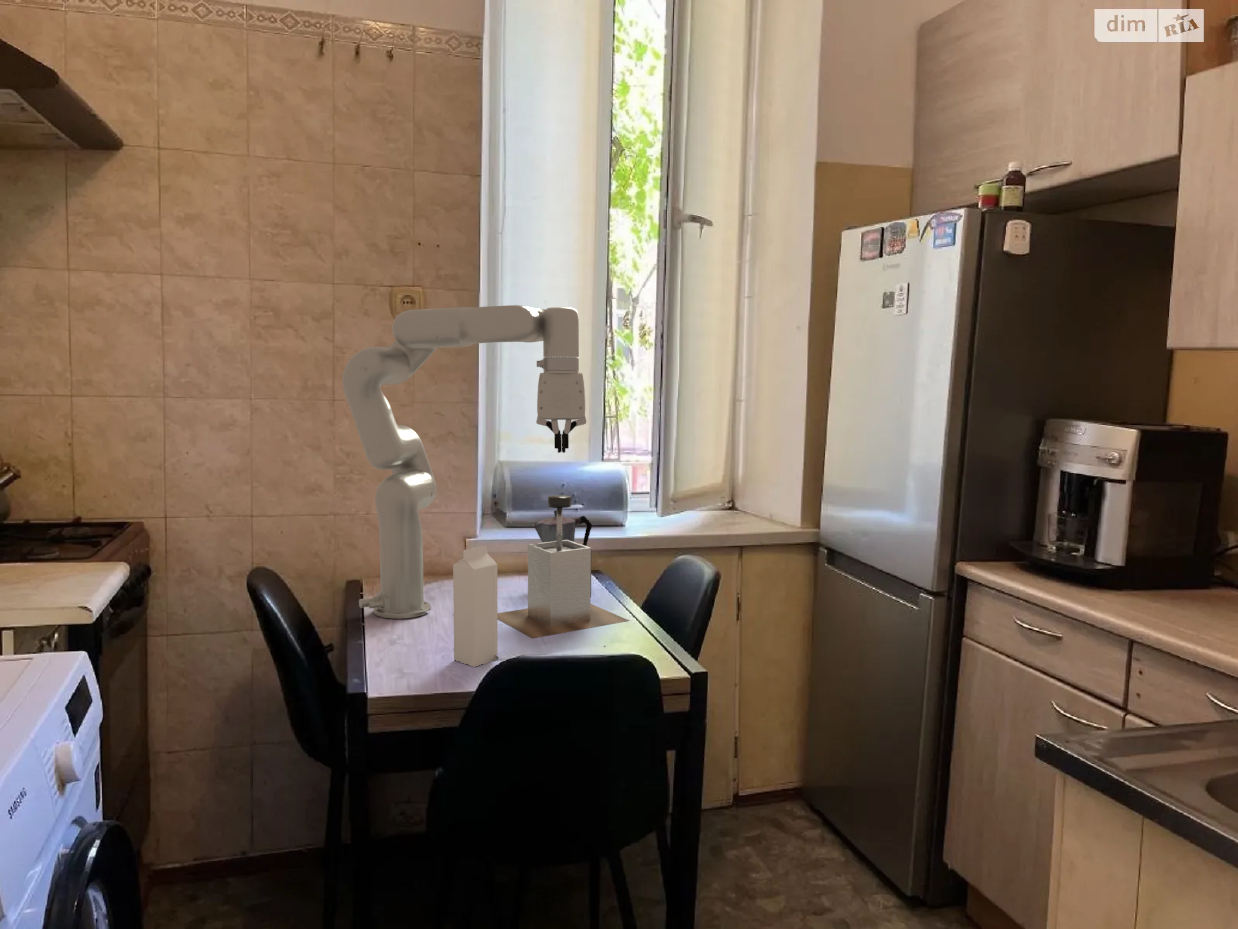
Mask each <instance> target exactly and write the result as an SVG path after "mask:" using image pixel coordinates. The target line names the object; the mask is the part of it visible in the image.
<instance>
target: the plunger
mask: <svg viewBox="0 0 1238 929" xmlns="http://www.w3.org/2000/svg"><path fill="white" fill-rule="evenodd" d="M547 507H548V508H553V509H556V510H557V547H556V548H547V549H545V550H548V551H550V552H556V551H564V550H572V548H569V547H566V546H564V547H562V517H563V509H567V508H571V507H572V496H569V495H563V494H561V495H560V494H558V495H556V494H555V495H549V496H547Z"/></svg>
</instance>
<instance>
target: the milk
mask: <svg viewBox="0 0 1238 929" xmlns="http://www.w3.org/2000/svg"><path fill="white" fill-rule="evenodd" d="M452 569H453V570H452V572H453V574H452V575H453V576H452V578H453V580H452V582H453V585H452V586H453V587H452V588H453V591H452V592H453V593H452V594H453V598H452V599H453V660H456V661H455V662H457V661H460V662H462V663H461V664H463V663H464V665H466V664H468V665H467V666H469V665H470V666H469V667H472V666H473V667H472V668H476V666H477V667H479V665H480V666H482V665H481V664H483V665H485V664H488V662H489V663H492V662H495V661H497V660H498V658H499V656H498V650H499V649H498V642H499V641H498V636H499V635H498V632H499V631H498V629H499V628H498V625H499V624H498V622H499V621H498V619H497V613H498V563H497V562H496V561H495V560H494V559H493V558H492V557H491V556H490V555H489V554H488V546H487V545H483V546H478V547H472V548H467V549H464V550H463V551H462V558H461V559H460V560H458V561H457V562H455V563H453V565H452ZM491 661H492V662H491ZM460 662H459V663H460Z"/></svg>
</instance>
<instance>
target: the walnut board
mask: <svg viewBox="0 0 1238 929" xmlns="http://www.w3.org/2000/svg"><path fill="white" fill-rule="evenodd" d="M498 620H499V621H500V622H502V623H504V624H505V625H506V626H509V627H511V628H513V629H515V630H516V631H517V632H520V633H521V634H524V635H525V636H527V637H528V638H531V639H536V638H537V639H538V638H543V637H548V636H554V635H559V634H565V633H569V632H570V633H572V632H576V631H582V630H587V629H593V628H597V627H604V626H608V625H614V624H619V623H624V622H625V623H626V622H629V621H630V620H629V619H627V618H625V617H622V616H621V615H618V614H616V613H613V612H610V611H609V610H606V609H604V608H602V607H600V606H597V605H594V604H593V603H590V620H586V621H580V622H575V623H569V624H563V625H558V626H552V627H550V626H548V625H546V624H544V623H542V622H540V621H538V620H536V619H534V618H532V617H530V616H528V607H527V608H522V609H516V610H509V611H503V612H497V621H498Z"/></svg>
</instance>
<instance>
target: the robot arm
mask: <svg viewBox="0 0 1238 929" xmlns="http://www.w3.org/2000/svg"><path fill="white" fill-rule="evenodd" d="M579 320H580V318H579V312H578V310H577V309H575V308H573V307H565V306H564V307H563V306H559V307H557V306H555V307H548V308H546V309H544V308H543V309H542V308H537V307H536V308H535V307H531V306H526V305H517V304H514V305H512V304H511V305H510V304H509V305H493V306H478V307H477V306H476V307H472V306H471V307H470V306H469V307H468V306H464V307H462V306H461V307H443V308H442V307H441V308H421V309H419V308H418V309H409V310H405V311H402V312H401V313H399V314H398V315H397V316H396V317H395V318H394V320H393V323H392V326H391V327H392V334H393V337H394V339H395V340H394V341H393V342H392V344H391V345H390V346H386V347H385V346H372V347H371V346H370V347H365V348H362V349H361V350H359V351H357V352H356V353H354V355H352V356H351V358H350V359H349V361H347V363H346V365H345V366H344V369H343V370H344V371H343V373H342V390H343V394H344V398H345V400H346V402H347V404H348V406H349V409H350V413H351V415H352V418H353V420H354V423H355V424H354V426H355V427H356V431H357V434H358V436H359V439H360V442H361V444H362V447H363V448H362V449H363V451H364V454H365V457H366V460H367V461H368V463H369V464H370V465H371V466H372V467H373V468H375V469H377V470H381V471H387V470H390V472H391V473H392V475H389V476H387V477H386V478H384V479H383V480H381V481H380V483H379V484H378V486H377V488H376V491H375V494H374V505H375V509H376V516H377V521H378V533H379V534H378V537H379V538H378V539H379V543H378V544H379V569H380V570H379V574H380V578H379V580H380V581H379V583H380V591H376V592H375V593H376V595H373V596H372V598H371V597H370V598H360V599H359V600H358V606H359V608H361V609H363V608H368V609H373V614H374V615H375V616H377V617H379V616H380V618H384V619H394V620H395V619H396V620H397V619H398V620H399V619H411V618H418V617H422V616H424V615H427V614H428V612H429V611H431V608H432V607H431V604H430V602H427V601H425V600H424V542H423V540H424V539H423V538H424V537H423V526H422V522H421V518H420V512H419V511H420V510H424V509H426V508H428V507H429V506H430V505H431V504H432V503H433V502H434V500H435V499H436V496H437V492H438V488H437V483H436V479H435V476H434V472H433V469H432V467H431V463H430V460H429V458H428V455H427V452H426V449H425V447H424V443H423V440H422V439H421V438H420V436H419V435H418V433H417V432H416V431H415V430H414V429H412V428H411V427H409V426H407V425H402V424H397V422H396V418H395V416H394V412H393V409H392V407H391V405H390V402H389V400H388V399H387V397H386V396H385V394H384V393H383V390H382V387H383V386H390V385H391V386H393V385H399V384H402V383H405V382H406V381H408V379H410V378H411V377H412V376H413V375H414V374H415V373H416V372H417V371H418V370H419V369H420V367H422V365H423V364H425V362H426V361H427V360H428V359H429V358H430V357H431V356H432V355H433V353H435V351H437V349H439V348H440V349H443V348H447V349H448V348H467V347H471V346H473V345H476V344H487V343H490V344H491V343H538V342H542V344H543V345H542V346H543V347H542V348H543V356H542V357H543V358H542V359H540V360H536V368H541V369H543V372H540V373H539V377H538V382H537V398H536V400H537V401H536V412H537V413H536V414H537V416H536V422H535V423H536V424H537V425H540V426H544V427H547V428H548V429H549V430H550V431H551V432H552V433H553V434H554V436H553V439H554V449H557V453H563V454H565V453H566V449H569V448H570V446H569V439H570V438H569V436H570V435H569V434H570V433H571V432H572V431H573V430H574V429H575V427H578V426H582V425H583V426H584V425H586V424H587V418H586V391H585V381H584V374H583V372H580V371H579V370H580V367H579V366H580V357H579V356H580V354H579V353H580V351H579V350H580V349H579V348H580V347H579V346H580V344H579V341H580V335H579V333H580V323H579ZM562 420H563V421H564V420H565V423H564V429H563V430H562V433H561V429H559V421H562Z"/></svg>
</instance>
